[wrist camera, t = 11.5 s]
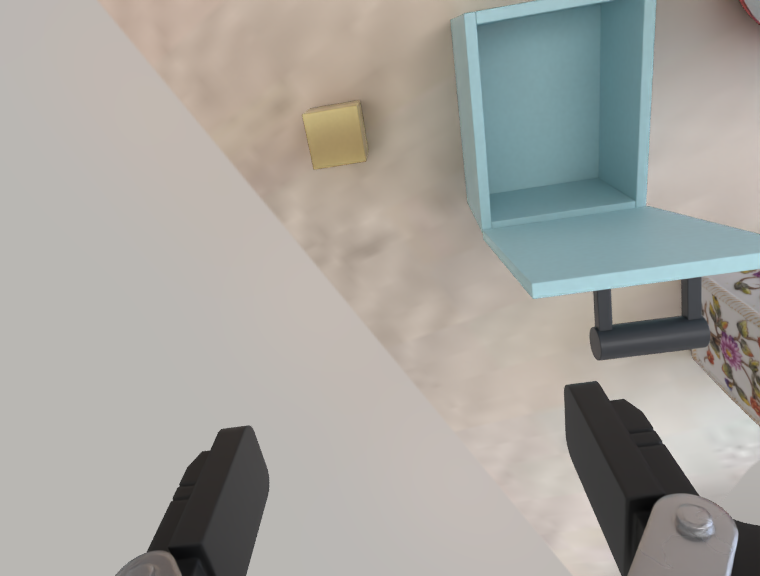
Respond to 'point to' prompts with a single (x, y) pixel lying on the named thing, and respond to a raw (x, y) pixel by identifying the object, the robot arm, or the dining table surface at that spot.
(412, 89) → the dining table surface
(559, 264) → the freezer lid
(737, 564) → the robot arm
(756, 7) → the citrus juicer
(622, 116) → the box
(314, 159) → the block
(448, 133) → the dining table surface
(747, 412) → the decorative jar
